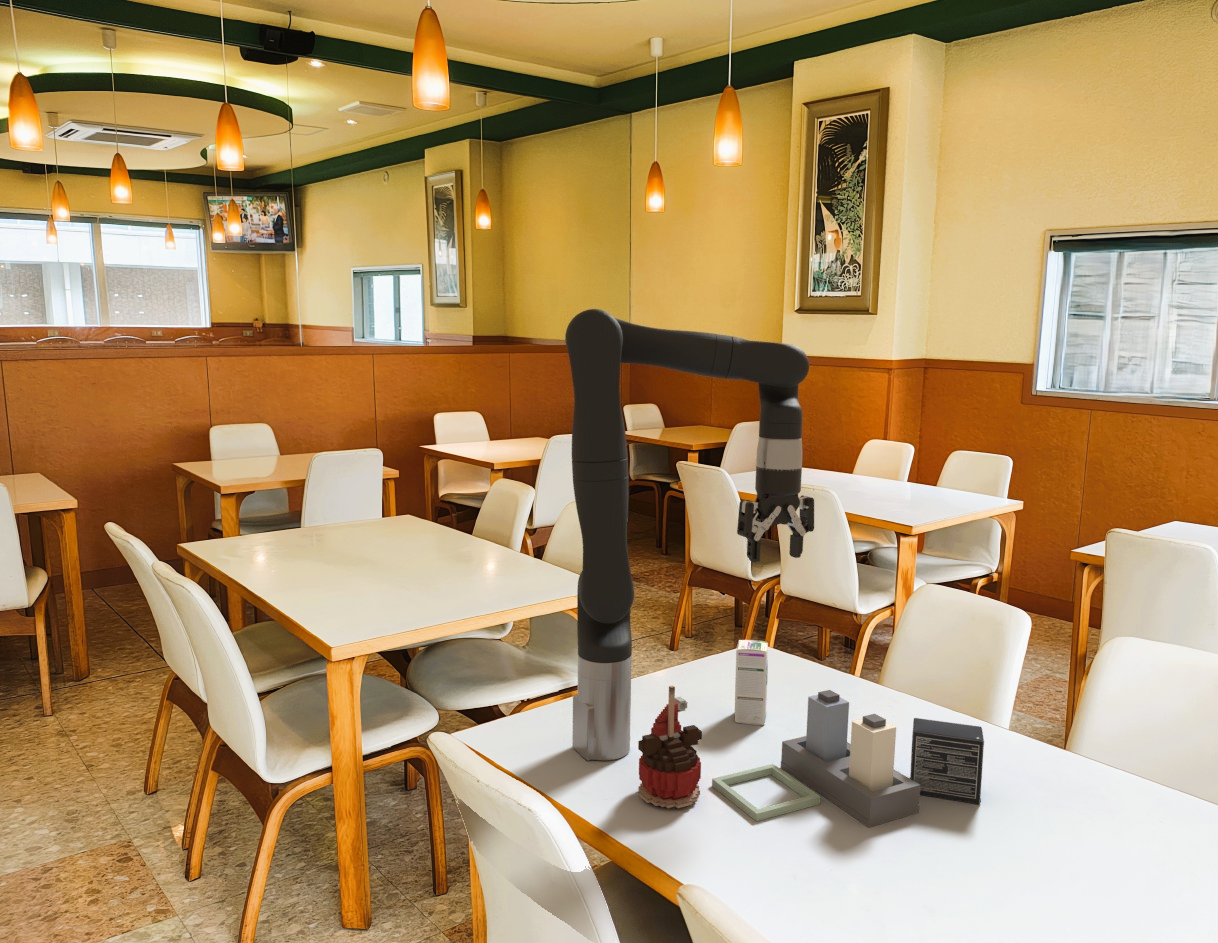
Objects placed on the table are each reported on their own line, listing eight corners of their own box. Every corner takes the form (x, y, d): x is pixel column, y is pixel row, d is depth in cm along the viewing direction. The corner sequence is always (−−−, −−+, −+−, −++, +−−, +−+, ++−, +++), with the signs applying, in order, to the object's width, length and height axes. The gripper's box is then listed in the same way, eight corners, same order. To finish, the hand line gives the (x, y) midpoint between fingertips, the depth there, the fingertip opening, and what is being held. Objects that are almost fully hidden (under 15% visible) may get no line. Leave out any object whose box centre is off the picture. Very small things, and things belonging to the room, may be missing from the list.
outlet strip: (868, 827, 133) (870, 798, 132) (780, 767, 152) (781, 741, 151) (918, 812, 137) (920, 784, 137) (827, 755, 156) (828, 730, 155)
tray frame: (756, 821, 134) (756, 813, 134) (711, 785, 145) (712, 778, 145) (820, 803, 140) (820, 796, 139) (772, 770, 150) (773, 763, 150)
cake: (654, 818, 135) (657, 703, 132) (624, 790, 143) (626, 681, 140) (714, 802, 140) (718, 691, 137) (682, 776, 148) (685, 671, 145)
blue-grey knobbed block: (823, 777, 146) (827, 701, 144) (805, 765, 150) (808, 690, 148) (845, 771, 148) (849, 696, 146) (826, 760, 152) (830, 686, 150)
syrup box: (765, 726, 168) (768, 650, 166) (733, 722, 169) (736, 648, 167) (766, 713, 173) (769, 640, 171) (735, 710, 174) (738, 638, 172)
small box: (978, 786, 146) (983, 725, 144) (980, 806, 140) (985, 741, 138) (909, 775, 149) (913, 715, 148) (908, 793, 143) (913, 731, 142)
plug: (868, 807, 137) (873, 726, 135) (847, 794, 141) (852, 714, 139) (891, 801, 139) (896, 720, 137) (870, 788, 143) (874, 709, 141)
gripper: (757, 469, 144) (753, 568, 147) (827, 465, 151) (822, 560, 153) (730, 463, 151) (727, 558, 153) (798, 459, 157) (794, 550, 160)
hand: (774, 559), depth 153 cm, fingers open, 8 cm apart
